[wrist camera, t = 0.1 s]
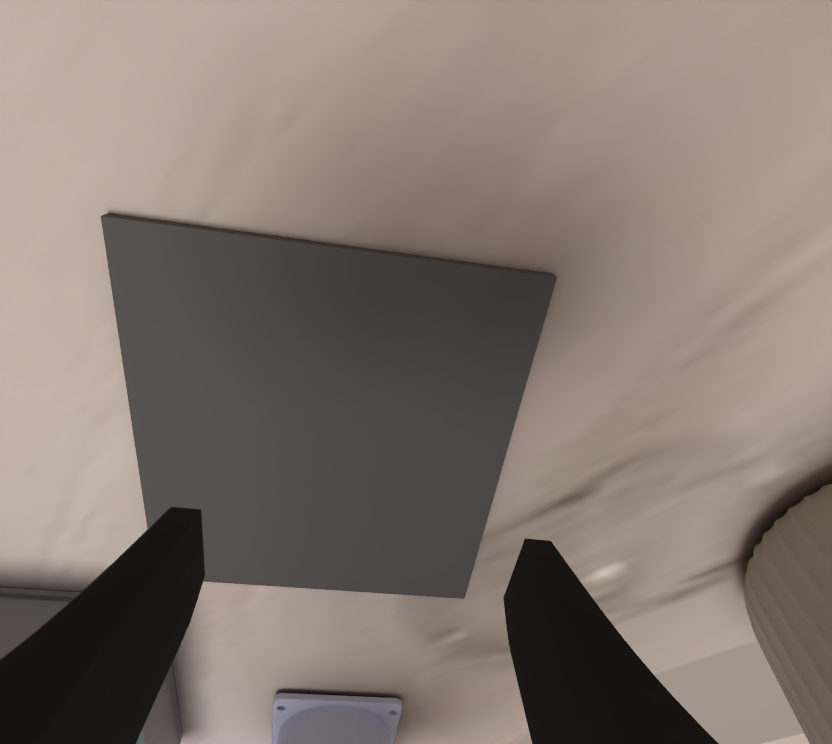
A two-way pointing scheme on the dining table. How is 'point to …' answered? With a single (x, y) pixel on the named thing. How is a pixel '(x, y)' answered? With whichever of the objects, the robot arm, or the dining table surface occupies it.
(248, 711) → the dining table surface
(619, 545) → the dining table surface
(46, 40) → the dining table surface
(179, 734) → the tub
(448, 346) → the mat
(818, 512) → the canister
